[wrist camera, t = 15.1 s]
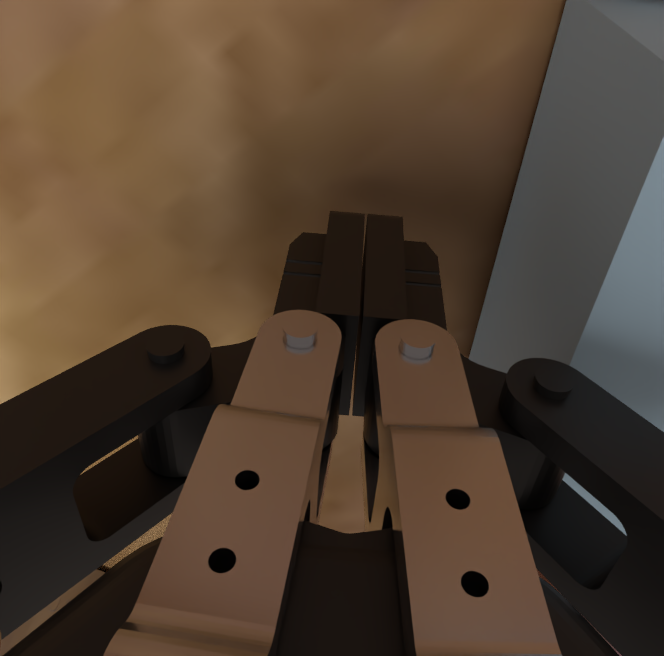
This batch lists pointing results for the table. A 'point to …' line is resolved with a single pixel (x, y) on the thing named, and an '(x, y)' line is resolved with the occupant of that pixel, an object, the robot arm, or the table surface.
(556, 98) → the free jaw
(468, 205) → the table surface
